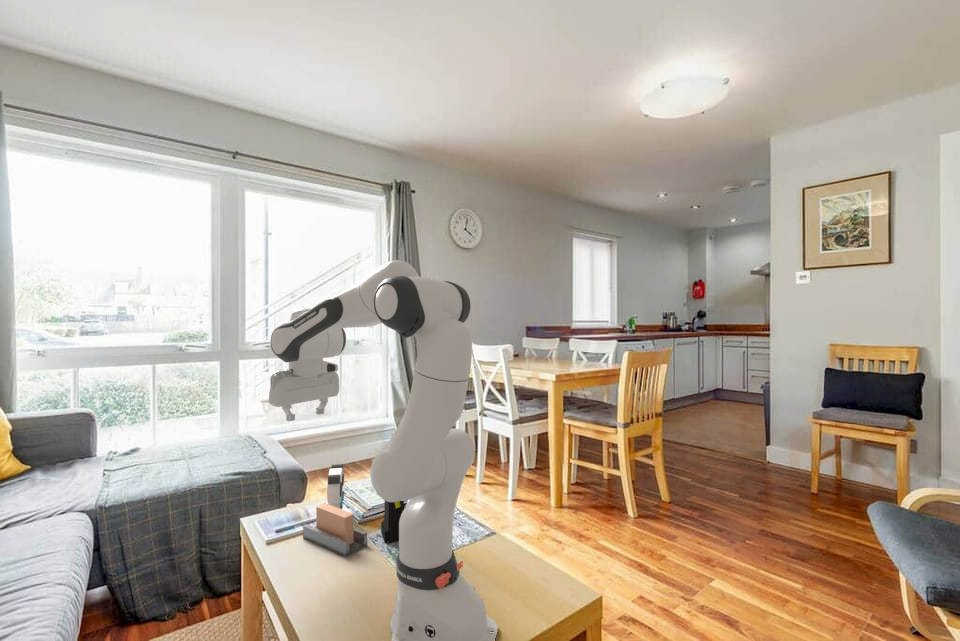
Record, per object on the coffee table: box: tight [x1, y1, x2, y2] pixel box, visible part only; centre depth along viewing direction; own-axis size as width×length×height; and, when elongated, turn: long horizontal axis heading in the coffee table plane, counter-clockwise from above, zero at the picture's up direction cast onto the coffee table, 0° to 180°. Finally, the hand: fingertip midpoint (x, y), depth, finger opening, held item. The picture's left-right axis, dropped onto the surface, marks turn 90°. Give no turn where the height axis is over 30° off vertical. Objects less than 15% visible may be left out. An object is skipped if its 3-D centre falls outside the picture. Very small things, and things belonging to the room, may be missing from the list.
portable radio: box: [380, 500, 405, 543], centre depth 127 cm, size 8×6×25 cm
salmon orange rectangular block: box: [315, 502, 355, 544], centre depth 124 cm, size 12×3×8 cm, turn 57°
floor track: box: [302, 523, 368, 558], centre depth 124 cm, size 18×7×4 cm, turn 57°
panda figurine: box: [326, 463, 349, 512], centre depth 139 cm, size 12×11×15 cm
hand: (305, 417), depth 123 cm, fingers open, 8 cm apart
